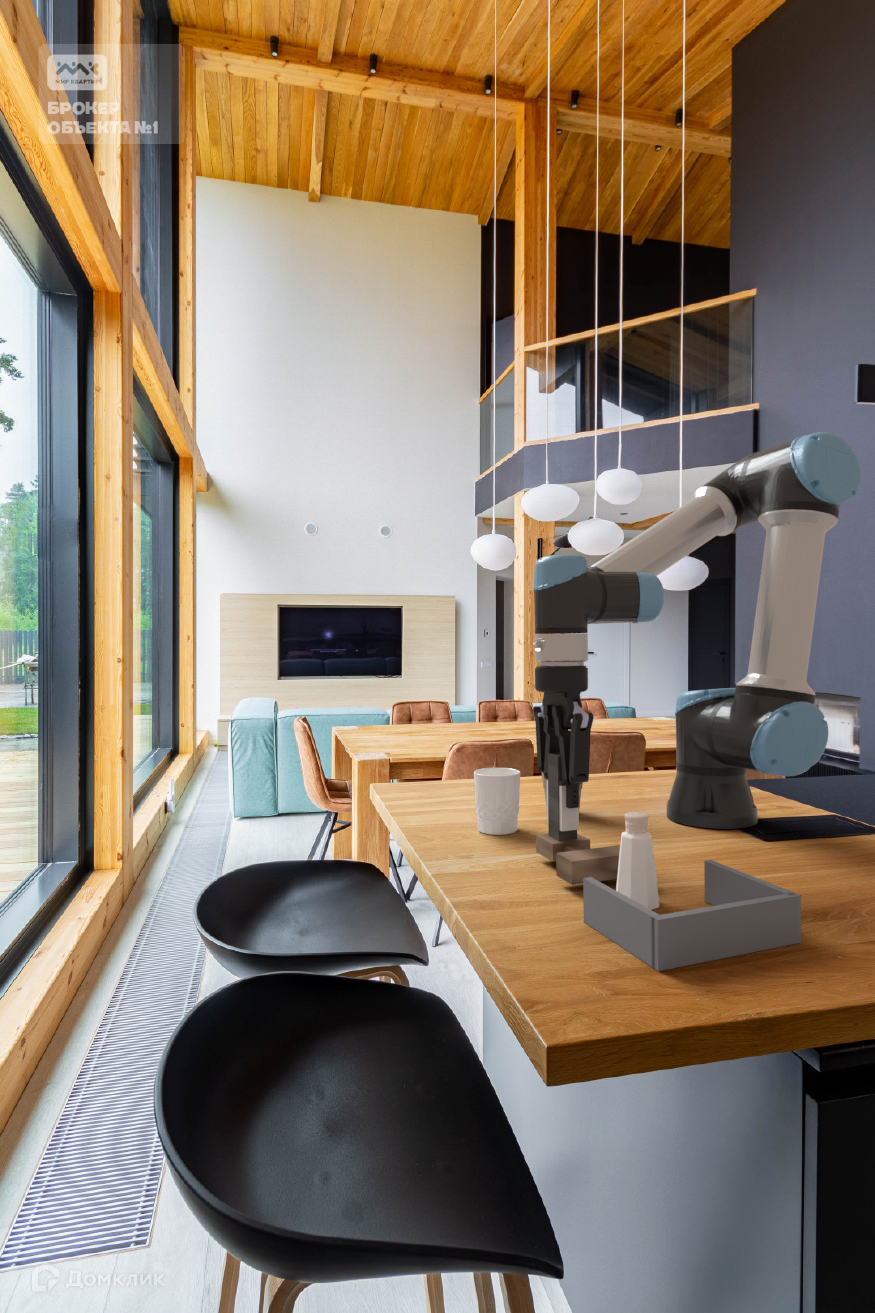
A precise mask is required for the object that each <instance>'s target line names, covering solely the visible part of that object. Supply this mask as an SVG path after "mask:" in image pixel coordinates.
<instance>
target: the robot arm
mask: <svg viewBox="0 0 875 1313" xmlns="http://www.w3.org/2000/svg"><path fill="white" fill-rule="evenodd" d="M860 464H861V463H860V460H859V458H858V456H857V454H856V452H855V451H854V450H853V449H852V445H851V444H850V443H849V442H848V441H847V440H846V439H844V438H843V437H842V436H840V435H838V434H836V433H833V432H831V431H830V432H829V431H818V432H814V433H810V434H802V435H799V436H797V437H796V438H794V439H793V440H788V441H786V442H784V443H780V444H778V445H774V446H771V447H769V448H765V449H762V450H759V451H755V452H753V453H750V454H749V455H746V456H744V457H743V458H741V459H739V460H738V461H737V462H735V463H733V464H732V465H731V466H729V467H728V468H726V469H725V470H723V471H722V472H721V473H719V474H717V475H716V476H714V478H712V479H710V480H709V481H708V482H706V483H705V484H703V485H702V486H701V487H699V488H697V489H696V490H695V492H694V493H693V495H692V499H691V500H690V501H687V502H686V503H685V504H683V505H682V506H681V507H679V508H678V509H676V510H674V511H673V512H671V513H670V514H669V515H667V516H665V517H664V518H662V519H660V520H659V521H658V522H656V523H655V524H653V525H651V526H650V527H648V528H647V529H645V530H644V531H642V532H641V533H639V534H638V535H637V536H635V537H633V538H632V539H630V540H629V541H626V542H625V543H624V544H623V545H621V546H620V547H618V548H617V549H615V550H614V551H612V552H610V553H609V554H608V555H606V556H604V557H603V558H601V559H600V560H598V561H597V562H595V563H593V564H592V565H591V566H588V561H587V558H586V557H585V556H583V555H577V554H553V555H547V556H542V557H540V558H538V560H536V562H535V564H534V573H533V587H532V591H533V599H534V600H533V601H534V604H533V605H534V641H533V643H532V644H533V647H534V660H535V661H536V662H537V663H538V664H539V665H537V666H536V667H535V668H534V688H535V690H536V691H537V692H541V693H543V697H542V704H541V705H538V706H537V705H536V706H533V707H532V713H533V717H534V721H535V723H534V724H535V736H536V737H535V738H536V743H537V744H536V759H537V770H538V773H542V772H543V773H544V778H545V779H547V809H546V824H547V825H548V754H549V753H560V757H561V769H562V781H558V784H559V823H560V831H570V830H577V831H578V830H580V808H579V785H580V784H581V783H588V782H589V780H590V779H589V778H590V777H589V776H590V758H591V757H590V756H591V755H590V752H591V732H592V730H591V729H592V727H593V722H594V713H593V712H586V711H585V710H584V709H583V702H582V699H581V693H583V692H586V691H588V689H589V668H588V667H587V665H585V663H586V662H588V660H589V644H588V643H589V642H588V641H589V640H588V638H589V636H588V628H589V627H588V626H589V625H591V624H592V625H596V624H597V625H598V624H617V623H618V624H619V623H620V624H621V623H622V624H623V623H632V624H638V623H648V622H653V621H654V620H655V619H656V618H658V616H659V615H660V613H661V612H662V609H663V606H664V602H665V598H664V593H665V591H664V587H663V584H662V582H661V580H660V578H659V577H658V575H660V574H662V573H663V572H664V571H666V570H667V569H669V568H671V567H673V566H674V565H675V564H676V563H678V562H680V561H681V560H683V559H684V558H686V557H687V556H689V555H690V554H691V553H693V552H694V551H696V550H697V549H699V548H700V547H702V546H703V545H705V544H706V543H708V542H709V541H711V540H712V539H714V538H715V537H717V536H718V537H725V536H728V535H730V534H731V533H732V532H735V531H736V530H737V529H740V528H741V527H744V526H748V525H750V524H753V523H755V522H759V524H760V525H762V527H763V528H764V529H765V531H766V533H765V541H764V548H763V556H762V561H761V562H762V563H761V572H760V577H759V578H760V579H759V586H758V592H757V601H756V608H755V615H754V622H753V623H754V624H753V631H752V640H751V647H750V654H749V655H750V656H749V659H748V660H749V661H748V662H749V663H748V669H747V674H746V676H745V677H744V678H742V679H741V680H740V681H738V682H737V683H736V684H735V687H727V688H725V687H724V688H711V689H710V688H709V689H699V690H698V689H697V690H688V691H683V692H681V693H680V694H678V696H677V697H676V704H675V712H674V715H675V735H676V736H675V742H676V743H675V745H676V748H675V749H676V750H675V752H676V775H675V778H674V780H673V784H672V787H671V792H670V795H669V799H668V800H667V802H666V817H667V818H668V819H669V820H670V821H672V822H675V823H678V824H682V825H686V826H689V827H697V828H703V829H715V830H716V829H717V830H718V829H720V830H721V829H723V830H732V829H745V828H750V827H753V826H755V825H757V824H758V822H759V820H758V818H759V816H758V814H759V813H758V808H757V805H756V804H755V802H754V796H753V794H752V791H751V787H750V784H749V782H748V777H747V770H752V771H757V772H760V773H762V774H764V775H771V776H781V777H782V776H783V777H795V776H798V775H801V774H803V773H805V772H807V771H809V770H810V768H811V767H813V766H815V765H816V764H817V763H818V762H819V760H821V758H822V756H823V754H824V752H825V750H826V747H827V744H828V738H829V723H828V721H827V720H825V715H824V713H823V711H821V709H820V708H818V707H817V706H816V705H815V702H816V692H815V691H814V689H812V688H811V686H810V685H809V684H808V682H807V679H808V672H809V664H810V662H809V661H810V657H811V656H810V655H811V649H812V638H813V631H814V625H815V624H814V623H815V617H816V610H817V601H818V600H817V599H818V592H819V586H820V579H821V571H822V563H823V562H822V561H823V554H824V546H825V541H826V540H825V538H826V533H827V532H828V531H830V530H831V529H832V528H833V527H835V526H836V525H837V524H838V521H839V515H840V508H841V505H844V504H847V502H849V501H851V500H852V499H853V497H854V496H855V495H856V494H857V493H858V491H859V490H860V488H861V487H860V486H861V483H862V482H861V481H862V470H861V465H860Z"/></svg>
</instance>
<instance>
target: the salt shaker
mask: <svg viewBox="0 0 875 1313" xmlns="http://www.w3.org/2000/svg"><path fill="white" fill-rule="evenodd" d="M624 819H625V821H624V823H625V824H624V826H625V831H623V832H621V836H620V843H619V845H620V853H619V864H618V875H617V879H616V886H615V888H616V889H615V891H617V892H619V893H621V894H623V895H625V896H626V897H628V898H630V899H632V900H634V901H635V902H637V903H639V904H641V905H643V906H644V907H646V908H648V909H650V910H652V911H653V910H657V909H658V908H660V906H661V905H660V898H659V888H658V880H657V871H656V862H655V852H654V844H653V843H654V842H653V836H652V835H651V833H650V832H648V827H649V825H648V824H649V823H648V822H649V821H648V820H649V815H648V814H647V813H645V812H642V811H629V812H626V813H625V814H624Z"/></svg>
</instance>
